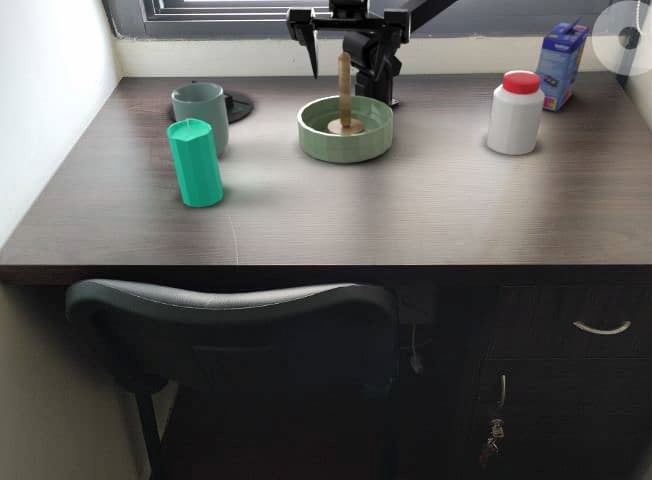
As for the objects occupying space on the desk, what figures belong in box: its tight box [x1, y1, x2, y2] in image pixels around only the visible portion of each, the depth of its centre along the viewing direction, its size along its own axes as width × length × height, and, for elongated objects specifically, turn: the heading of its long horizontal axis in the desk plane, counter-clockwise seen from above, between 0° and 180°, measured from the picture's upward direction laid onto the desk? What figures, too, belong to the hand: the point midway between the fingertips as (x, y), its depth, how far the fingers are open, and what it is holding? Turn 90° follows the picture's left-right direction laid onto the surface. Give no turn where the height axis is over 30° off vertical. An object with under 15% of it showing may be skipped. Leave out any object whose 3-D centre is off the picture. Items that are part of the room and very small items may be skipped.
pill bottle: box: [486, 69, 545, 156], centre depth 95 cm, size 8×8×11 cm
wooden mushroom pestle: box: [327, 51, 364, 135], centre depth 95 cm, size 6×6×14 cm
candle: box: [166, 118, 225, 208], centre depth 84 cm, size 6×6×12 cm
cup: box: [171, 82, 230, 157], centre depth 95 cm, size 8×8×10 cm
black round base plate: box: [169, 80, 254, 125], centre depth 109 cm, size 15×15×6 cm
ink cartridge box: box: [535, 15, 590, 113], centre depth 106 cm, size 10×6×14 cm, turn 148°
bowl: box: [296, 94, 394, 164], centre depth 98 cm, size 15×15×5 cm
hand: (345, 79), depth 92 cm, fingers open, 9 cm apart
